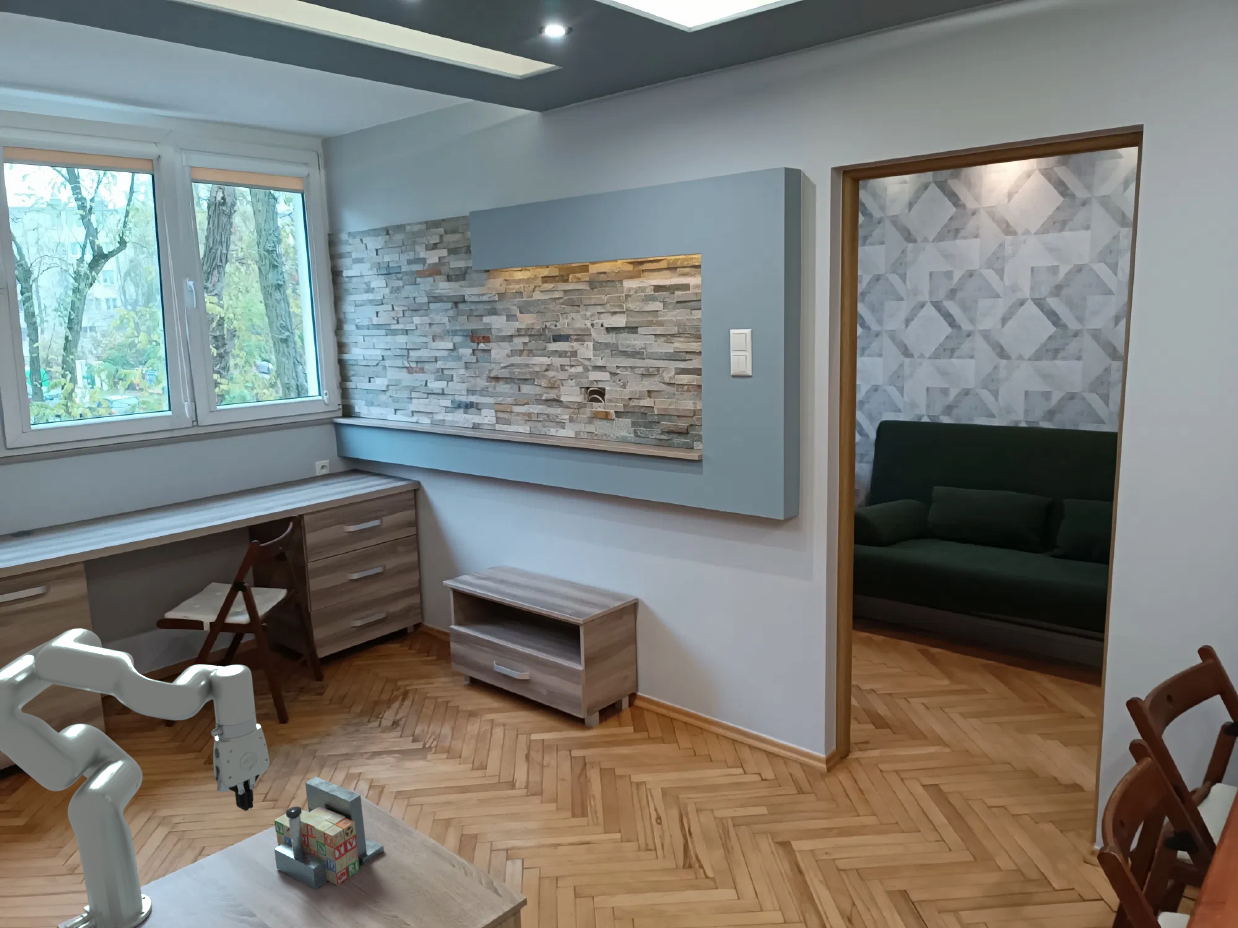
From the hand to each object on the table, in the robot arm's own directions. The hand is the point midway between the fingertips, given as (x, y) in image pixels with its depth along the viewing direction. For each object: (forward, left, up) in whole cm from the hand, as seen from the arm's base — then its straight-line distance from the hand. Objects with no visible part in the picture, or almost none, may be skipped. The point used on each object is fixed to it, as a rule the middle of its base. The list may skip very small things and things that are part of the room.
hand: (245, 807), depth 185 cm
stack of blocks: (+16, 0, -23) cm, 28 cm away
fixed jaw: (+23, 0, -22) cm, 32 cm away
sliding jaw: (+11, 0, -22) cm, 25 cm away
